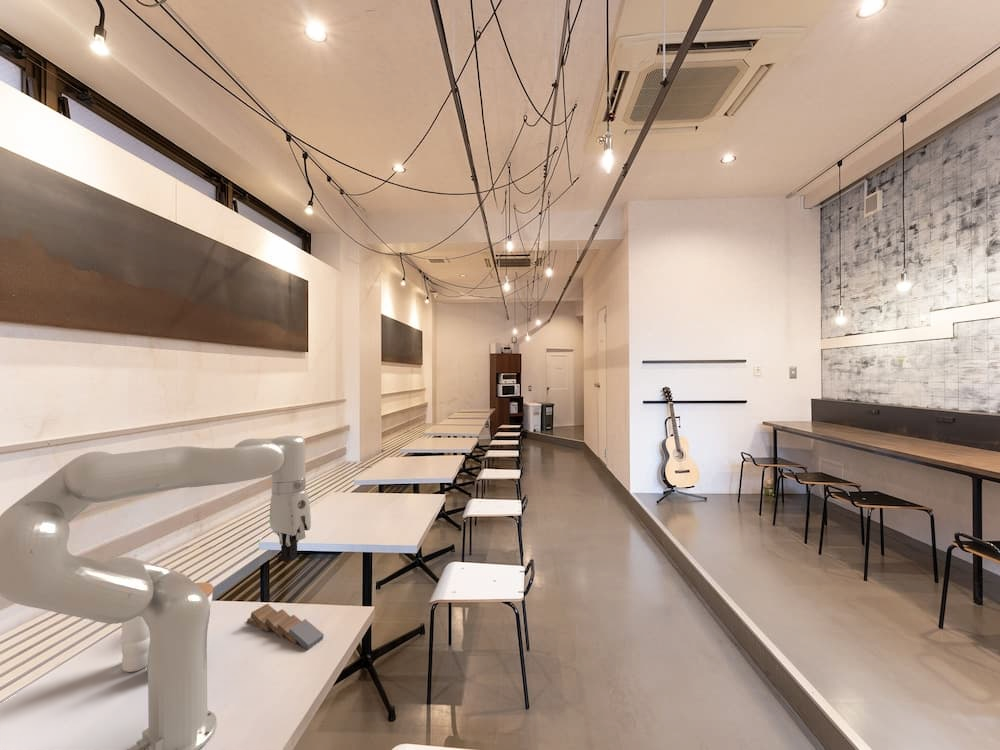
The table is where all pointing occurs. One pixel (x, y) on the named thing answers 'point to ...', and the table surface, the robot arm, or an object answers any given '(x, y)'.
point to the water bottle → (135, 644)
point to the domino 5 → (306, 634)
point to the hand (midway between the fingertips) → (289, 559)
